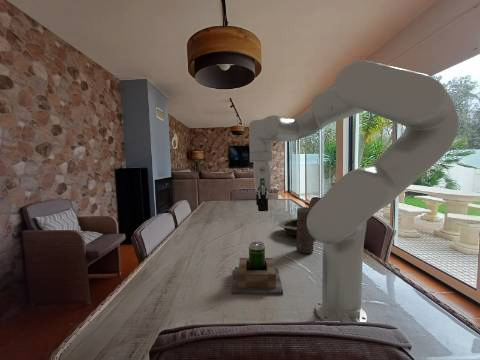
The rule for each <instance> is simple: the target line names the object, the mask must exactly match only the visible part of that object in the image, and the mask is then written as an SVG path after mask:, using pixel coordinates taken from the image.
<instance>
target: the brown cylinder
mask: <svg viewBox="0 0 480 360" xmlns="http://www.w3.org/2000/svg"><path fill="white" fill-rule="evenodd" d="M312 207H313V206H311V207H310V206H308V207H307V206H305V207H297V210H296V219H297V235H296V245H295V246H296V251H298V252H299V253H305V254H309V253H313V252H314V239H313V237H312V236H311V235H310V233H309V231H308V228H307V217H308V214H309V212H310V210H311V209H312Z"/></svg>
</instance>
